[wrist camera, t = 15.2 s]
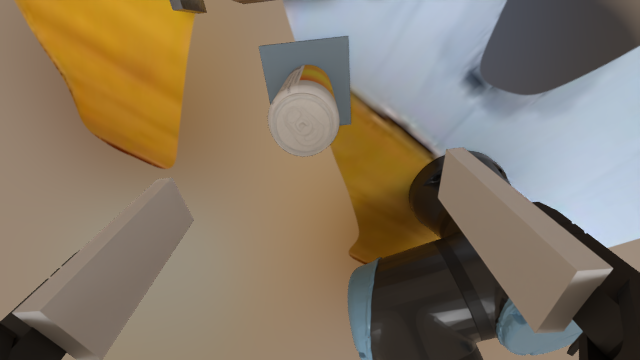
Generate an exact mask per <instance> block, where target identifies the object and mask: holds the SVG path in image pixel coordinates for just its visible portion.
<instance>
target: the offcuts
mask: <svg viewBox="0 0 640 360" xmlns="http://www.w3.org/2000/svg"><path fill="white" fill-rule="evenodd" d="M233 1H236V2H239V3H242V4H247V3H256V2H264V1H272V0H233Z"/></svg>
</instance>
